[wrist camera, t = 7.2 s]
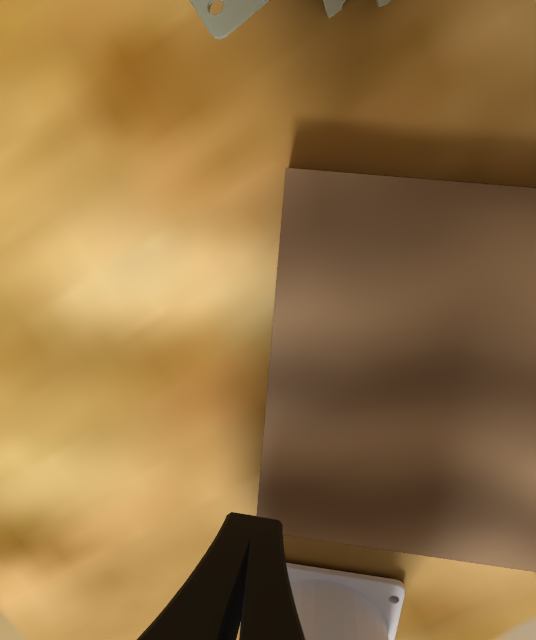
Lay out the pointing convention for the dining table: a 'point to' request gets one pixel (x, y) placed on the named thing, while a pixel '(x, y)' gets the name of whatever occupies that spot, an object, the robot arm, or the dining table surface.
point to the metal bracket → (246, 13)
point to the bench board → (404, 367)
